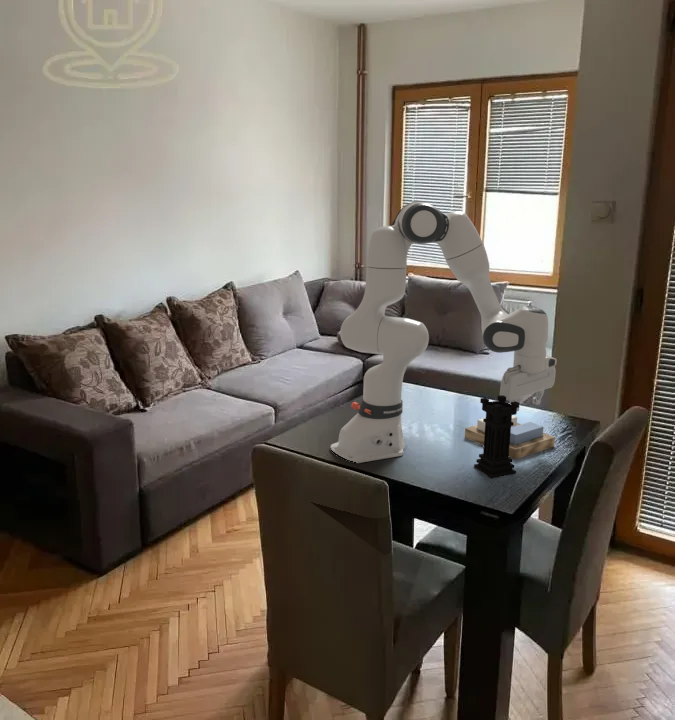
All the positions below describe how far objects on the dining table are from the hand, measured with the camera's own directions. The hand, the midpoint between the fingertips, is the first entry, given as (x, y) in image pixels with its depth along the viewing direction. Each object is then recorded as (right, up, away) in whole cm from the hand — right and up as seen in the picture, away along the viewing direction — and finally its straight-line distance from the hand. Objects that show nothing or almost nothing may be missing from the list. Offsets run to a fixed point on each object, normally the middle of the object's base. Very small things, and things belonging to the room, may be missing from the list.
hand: (525, 407), depth 198 cm
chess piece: (-12, -16, -13) cm, 24 cm away
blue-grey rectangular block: (0, -9, +2) cm, 9 cm away
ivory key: (-6, -7, +10) cm, 13 cm away
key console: (-3, -11, +6) cm, 13 cm away
